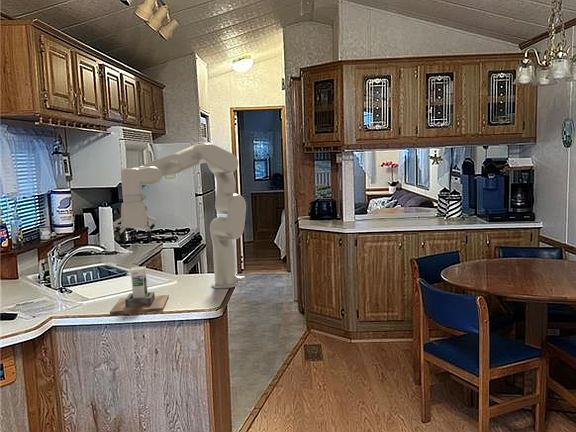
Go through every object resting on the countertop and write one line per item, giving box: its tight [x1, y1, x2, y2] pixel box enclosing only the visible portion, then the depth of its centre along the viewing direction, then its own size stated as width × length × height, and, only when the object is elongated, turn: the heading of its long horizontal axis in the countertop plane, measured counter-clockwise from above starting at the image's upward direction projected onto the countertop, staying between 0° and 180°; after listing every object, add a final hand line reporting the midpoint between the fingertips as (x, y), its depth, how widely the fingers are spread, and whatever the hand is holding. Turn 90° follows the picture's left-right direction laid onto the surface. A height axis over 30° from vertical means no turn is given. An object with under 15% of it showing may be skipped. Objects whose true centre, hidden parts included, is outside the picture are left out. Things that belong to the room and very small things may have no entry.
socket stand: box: [109, 291, 170, 316], centre depth 212 cm, size 20×20×4 cm
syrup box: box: [130, 265, 149, 298], centre depth 211 cm, size 6×6×14 cm
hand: (136, 241), depth 209 cm, fingers open, 9 cm apart
